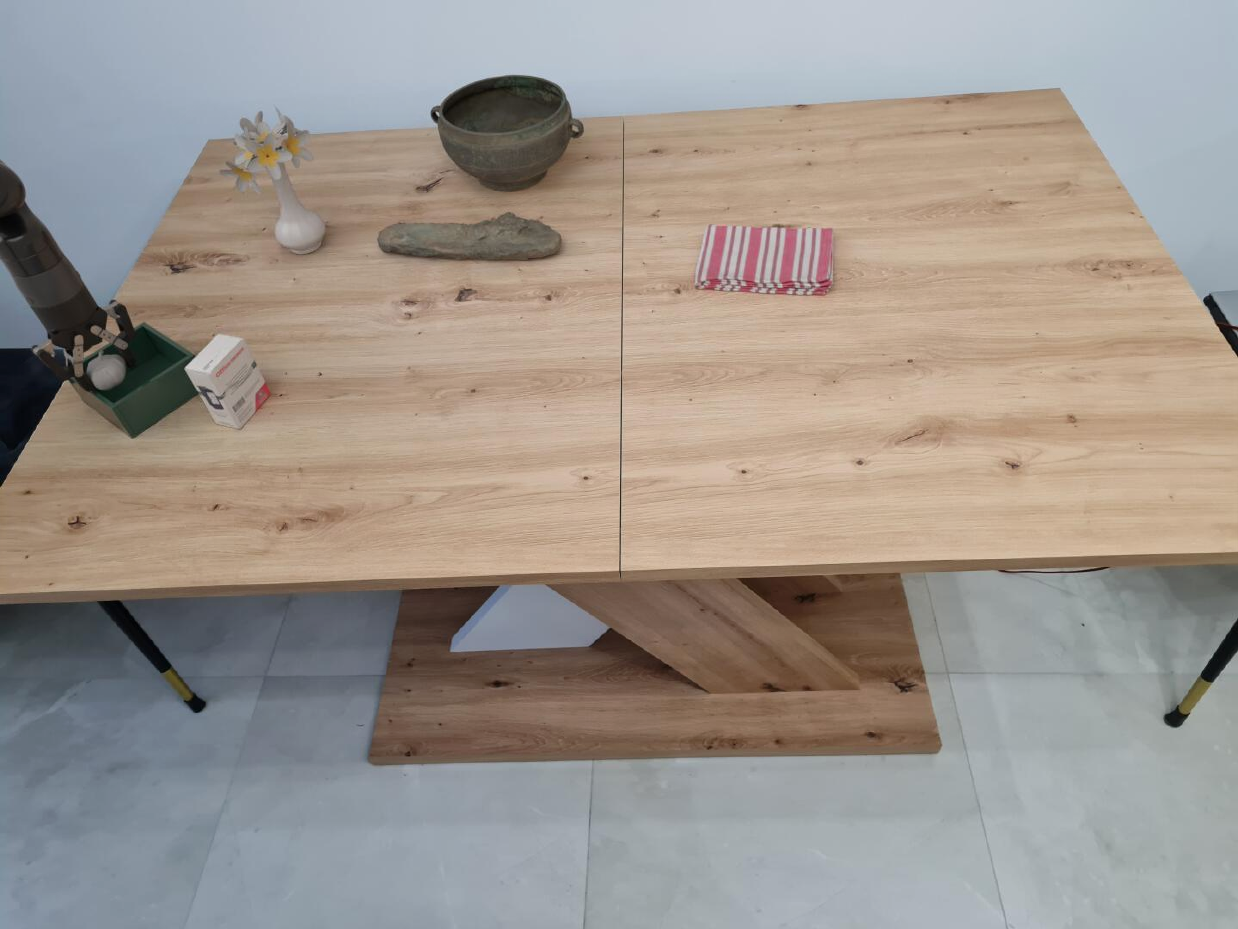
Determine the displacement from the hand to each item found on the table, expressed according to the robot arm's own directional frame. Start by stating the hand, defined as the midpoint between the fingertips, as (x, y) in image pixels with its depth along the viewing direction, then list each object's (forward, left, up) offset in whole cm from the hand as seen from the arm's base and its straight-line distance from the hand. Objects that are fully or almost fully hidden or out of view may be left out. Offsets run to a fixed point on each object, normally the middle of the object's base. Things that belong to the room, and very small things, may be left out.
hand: (111, 377), depth 138 cm
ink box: (+11, -15, -7) cm, 20 cm away
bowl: (+86, -4, -7) cm, 86 cm away
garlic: (0, 0, -1) cm, 1 cm away
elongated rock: (+62, -15, -7) cm, 64 cm away
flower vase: (+45, +12, -7) cm, 47 cm away
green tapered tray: (+4, +2, -7) cm, 8 cm away
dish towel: (+87, -63, -7) cm, 107 cm away
